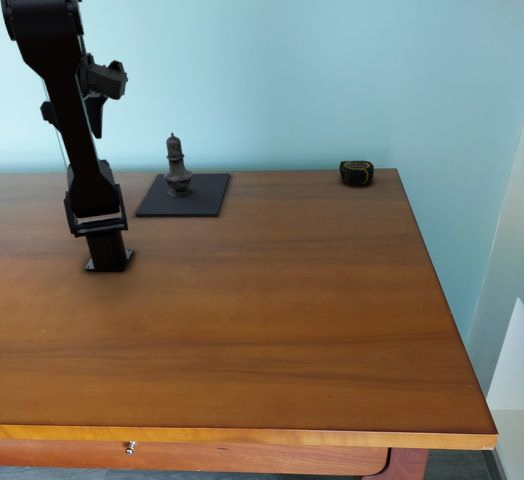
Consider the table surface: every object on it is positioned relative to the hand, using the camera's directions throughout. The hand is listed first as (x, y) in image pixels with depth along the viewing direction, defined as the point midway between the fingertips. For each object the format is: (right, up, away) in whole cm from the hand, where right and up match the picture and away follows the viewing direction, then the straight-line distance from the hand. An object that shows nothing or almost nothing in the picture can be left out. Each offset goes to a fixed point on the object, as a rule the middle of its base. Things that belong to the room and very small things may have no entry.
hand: (91, 147), depth 95 cm
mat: (+15, -4, +14) cm, 21 cm away
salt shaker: (+14, -4, +14) cm, 20 cm away
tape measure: (+50, -1, +17) cm, 53 cm away
